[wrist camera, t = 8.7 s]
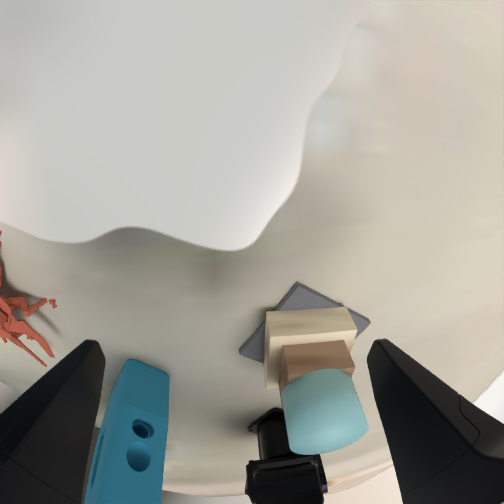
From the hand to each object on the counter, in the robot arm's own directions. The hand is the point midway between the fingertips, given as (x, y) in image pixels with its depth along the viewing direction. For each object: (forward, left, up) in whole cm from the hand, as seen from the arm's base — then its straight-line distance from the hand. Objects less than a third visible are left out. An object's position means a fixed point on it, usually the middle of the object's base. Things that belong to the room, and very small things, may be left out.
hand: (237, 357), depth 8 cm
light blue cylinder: (-7, -12, -6) cm, 15 cm away
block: (-23, -1, -13) cm, 27 cm away
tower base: (-7, -12, -12) cm, 18 cm away
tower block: (-7, -12, -9) cm, 16 cm away
